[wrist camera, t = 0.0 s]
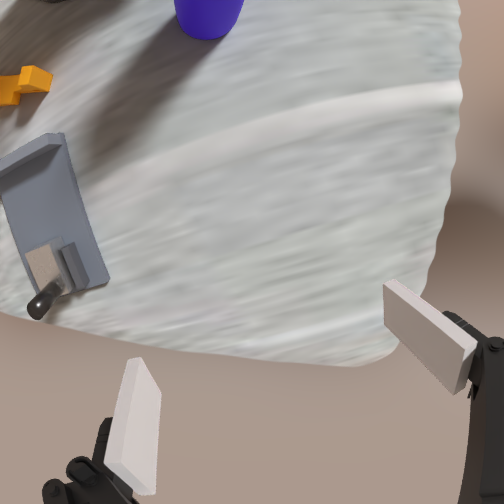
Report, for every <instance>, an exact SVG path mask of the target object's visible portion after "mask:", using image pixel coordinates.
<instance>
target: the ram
mask: <svg viewBox="0 0 504 504" xmlns="http://www.w3.org/2000/svg"><path fill="white" fill-rule="evenodd" d="M63 247H65V245H64V242H63V240H62V237H61V236H59V237H57V238H54V239H52V240H49V241H47V242H44V243H42V244H40V245H37V246H36V247H34V248H33V249H31V250H30V251H28V252H27V253H25V256H26V259H27V261H28V264H29V266H30V269H31V271H32V273H33V276H34V278H35V280H36V283H37V285H38V287H39V289H40V292H39V293H38V294H37V295H36V296H35V297H34V298H33V299H32V300H31V301H30V302H29V303H28V305H27V311H28V313H29V315H30V316H31V317H32V318H33V319H35V320H40V319H41V318H42V317H43V316H44V315H45V314H46V312H47V311H48V310H49V309H50V307H51V306H52V305H53V304H54V303H55V301H56V300H57V299H58V298H59V297H60V296H61V295H64V294H68V293H70V291H71V290H72V289H73V288H74V287H75V282H74V280H73V278H72V275H71V273H70V271H69V268H68V266H67V263H66V261H65V258H64V256H63V253H62V251H61V249H62V248H63Z"/></svg>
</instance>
